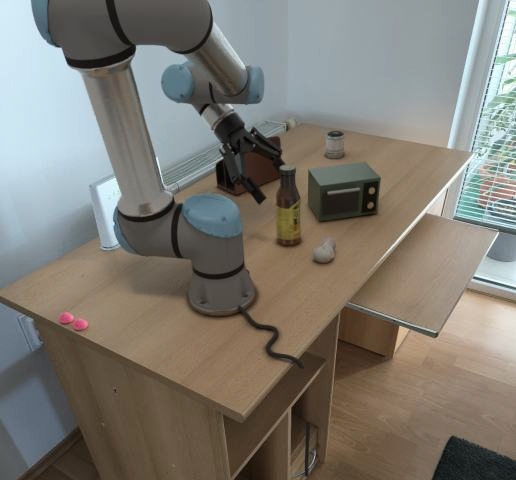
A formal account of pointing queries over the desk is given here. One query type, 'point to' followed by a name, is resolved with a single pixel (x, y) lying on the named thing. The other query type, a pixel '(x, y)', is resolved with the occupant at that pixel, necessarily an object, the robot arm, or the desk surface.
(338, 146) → the camera lens
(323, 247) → the pale two-lobed sculpture
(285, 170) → the sauce bottle
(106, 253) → the desk surface
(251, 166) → the letter holder
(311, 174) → the toaster oven
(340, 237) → the desk surface
